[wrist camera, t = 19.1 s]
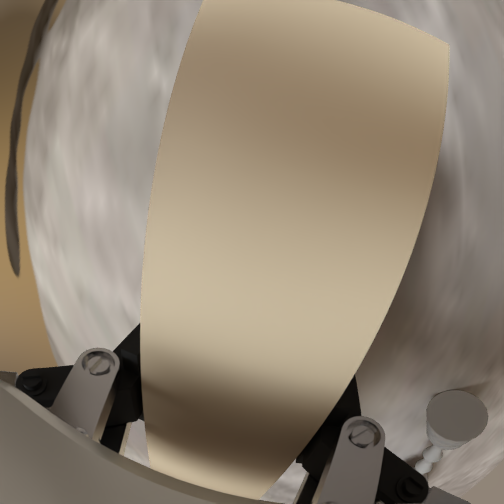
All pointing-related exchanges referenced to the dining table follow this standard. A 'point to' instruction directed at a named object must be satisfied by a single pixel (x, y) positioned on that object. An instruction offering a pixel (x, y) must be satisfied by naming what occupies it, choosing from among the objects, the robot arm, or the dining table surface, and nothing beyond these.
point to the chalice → (451, 425)
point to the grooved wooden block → (279, 226)
